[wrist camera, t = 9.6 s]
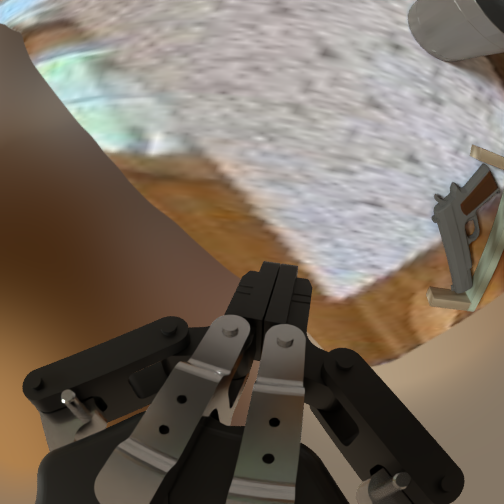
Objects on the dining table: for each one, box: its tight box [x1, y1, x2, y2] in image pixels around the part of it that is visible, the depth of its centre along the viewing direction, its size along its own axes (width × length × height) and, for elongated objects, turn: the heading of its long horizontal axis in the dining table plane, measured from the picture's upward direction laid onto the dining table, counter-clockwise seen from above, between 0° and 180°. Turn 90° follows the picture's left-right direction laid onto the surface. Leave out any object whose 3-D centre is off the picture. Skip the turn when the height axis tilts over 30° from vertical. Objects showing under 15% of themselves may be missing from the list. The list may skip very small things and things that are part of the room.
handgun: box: [432, 164, 500, 293], centre depth 31 cm, size 3×18×12 cm
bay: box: [426, 145, 504, 311], centre depth 31 cm, size 25×9×3 cm, turn 178°
